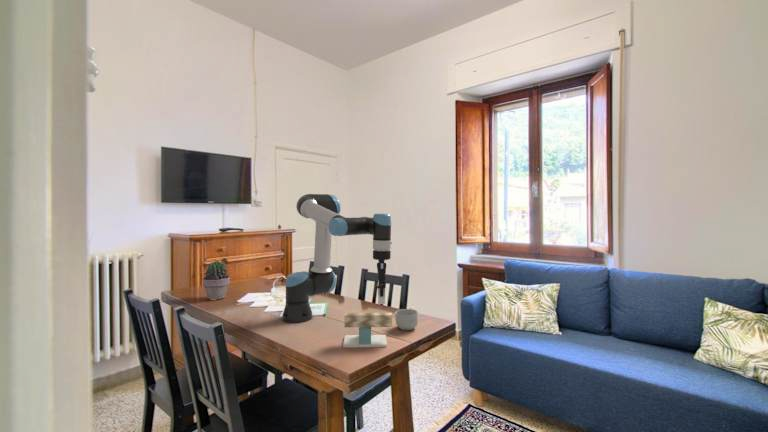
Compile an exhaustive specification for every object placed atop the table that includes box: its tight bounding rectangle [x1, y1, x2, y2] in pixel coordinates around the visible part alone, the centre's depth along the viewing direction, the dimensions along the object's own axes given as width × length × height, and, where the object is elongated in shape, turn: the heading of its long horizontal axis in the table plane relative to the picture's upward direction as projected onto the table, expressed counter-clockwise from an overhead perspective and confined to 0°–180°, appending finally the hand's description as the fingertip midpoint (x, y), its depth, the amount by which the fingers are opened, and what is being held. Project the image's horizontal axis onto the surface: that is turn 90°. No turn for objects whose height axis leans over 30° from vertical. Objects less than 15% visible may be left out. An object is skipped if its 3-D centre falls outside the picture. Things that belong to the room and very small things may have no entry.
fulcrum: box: [342, 327, 388, 348], centre depth 148 cm, size 18×11×7 cm, turn 92°
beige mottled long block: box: [344, 312, 393, 328], centre depth 148 cm, size 20×4×5 cm, turn 92°
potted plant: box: [200, 257, 231, 300], centre depth 218 cm, size 18×20×25 cm
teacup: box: [394, 308, 419, 331], centre depth 167 cm, size 14×11×8 cm
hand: (381, 299), depth 149 cm, fingers open, 13 cm apart
